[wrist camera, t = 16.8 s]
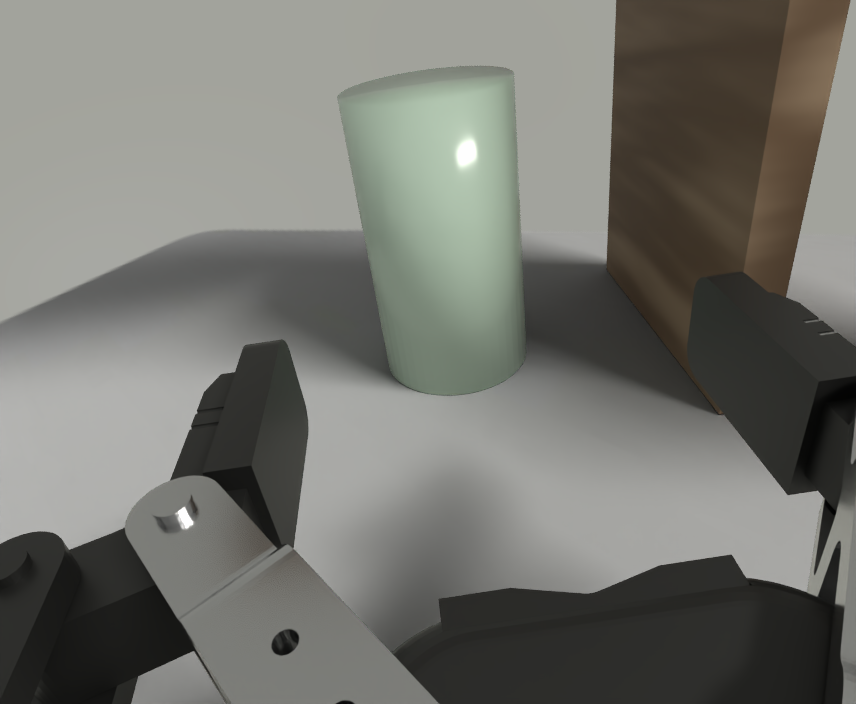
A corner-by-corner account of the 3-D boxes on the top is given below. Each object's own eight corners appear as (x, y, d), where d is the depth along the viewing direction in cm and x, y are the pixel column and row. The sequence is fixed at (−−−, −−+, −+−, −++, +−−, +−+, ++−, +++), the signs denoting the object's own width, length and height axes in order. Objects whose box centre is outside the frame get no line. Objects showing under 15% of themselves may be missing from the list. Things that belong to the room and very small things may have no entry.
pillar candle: (390, 405, 24) (332, 115, 18) (387, 328, 29) (341, 82, 23) (540, 382, 24) (531, 86, 18) (511, 310, 29) (496, 59, 23)
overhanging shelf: (194, 493, 21) (-392, -752, 8) (250, 322, 31) (25, -361, 18) (761, 407, 21) (1061, -967, 8) (635, 265, 31) (681, -459, 18)
